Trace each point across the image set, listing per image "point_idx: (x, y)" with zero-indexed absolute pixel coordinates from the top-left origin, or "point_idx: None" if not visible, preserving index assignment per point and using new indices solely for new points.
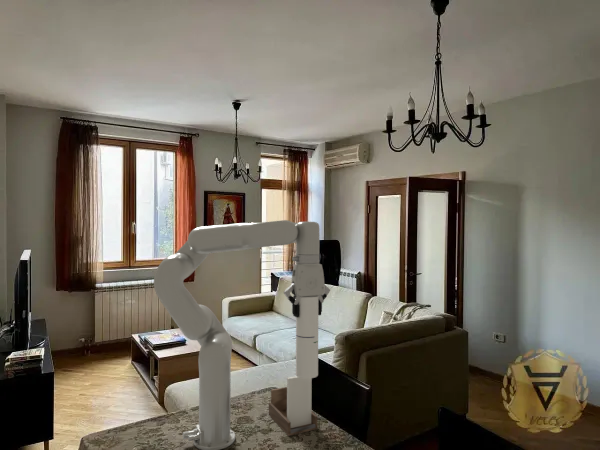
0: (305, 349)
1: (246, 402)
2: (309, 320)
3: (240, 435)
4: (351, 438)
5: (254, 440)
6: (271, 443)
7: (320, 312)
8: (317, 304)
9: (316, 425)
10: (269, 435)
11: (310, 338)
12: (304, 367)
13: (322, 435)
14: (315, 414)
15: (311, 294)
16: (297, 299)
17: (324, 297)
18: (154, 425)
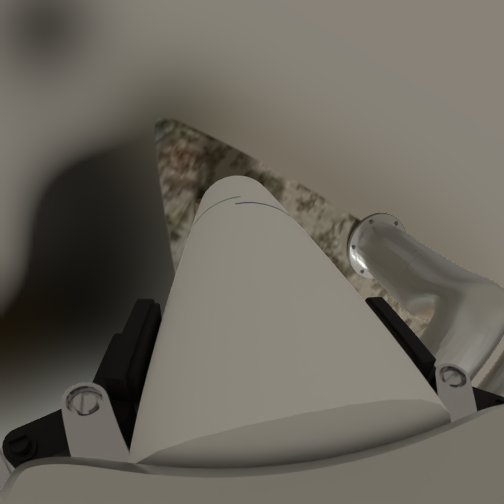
0: (277, 202)
1: None
2: (294, 237)
3: (337, 242)
4: (156, 136)
5: (325, 214)
6: (304, 190)
7: (141, 309)
8: (186, 340)
9: (199, 199)
10: (294, 218)
11: (262, 203)
12: (267, 190)
13: (201, 170)
14: (195, 213)
15: (350, 478)
16: (460, 405)
17: (37, 433)
18: (414, 321)
